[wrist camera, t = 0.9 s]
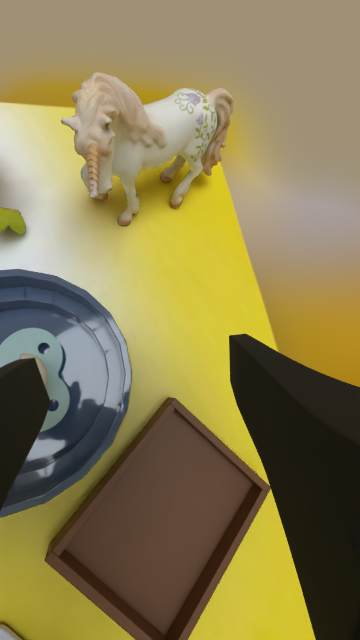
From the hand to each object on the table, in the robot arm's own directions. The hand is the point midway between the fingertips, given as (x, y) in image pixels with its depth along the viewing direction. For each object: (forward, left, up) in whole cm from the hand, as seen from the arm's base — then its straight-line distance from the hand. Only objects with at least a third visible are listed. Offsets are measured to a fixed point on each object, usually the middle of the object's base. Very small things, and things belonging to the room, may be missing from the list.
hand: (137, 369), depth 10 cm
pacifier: (-4, +5, -14) cm, 15 cm away
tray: (-4, -10, -14) cm, 18 cm away
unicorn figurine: (+14, +8, -14) cm, 21 cm away
